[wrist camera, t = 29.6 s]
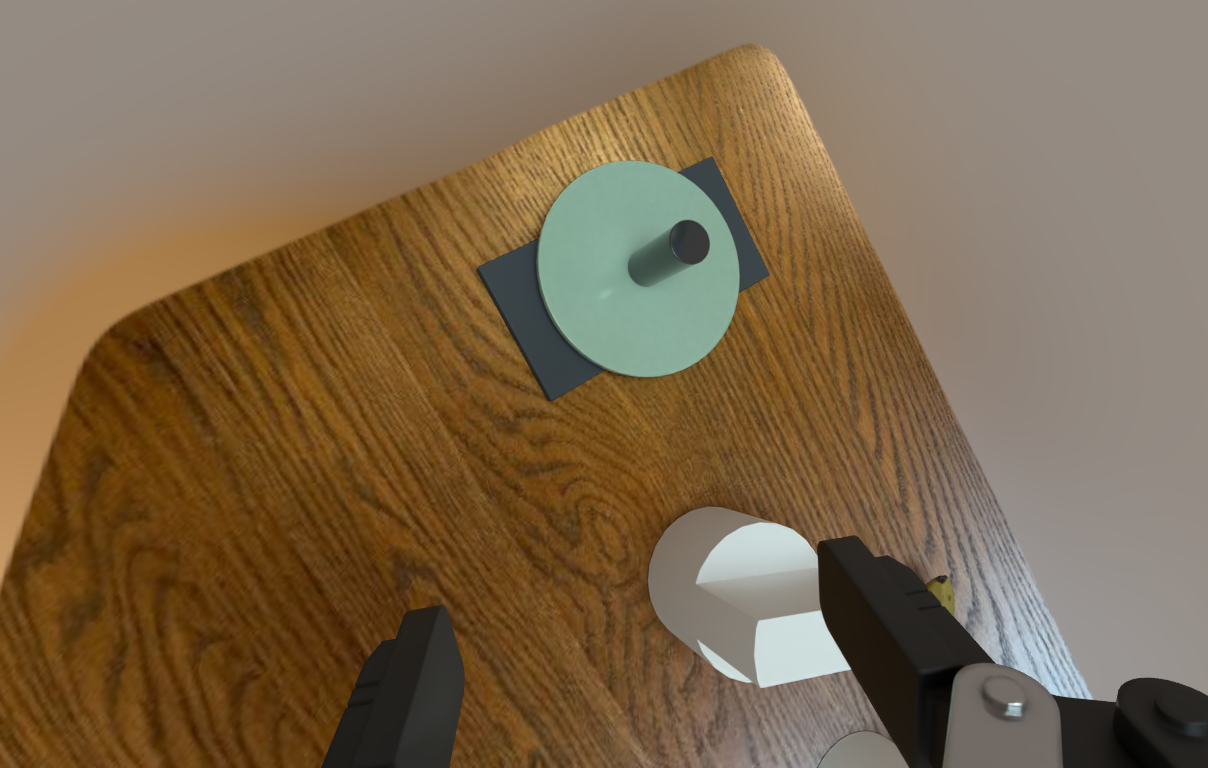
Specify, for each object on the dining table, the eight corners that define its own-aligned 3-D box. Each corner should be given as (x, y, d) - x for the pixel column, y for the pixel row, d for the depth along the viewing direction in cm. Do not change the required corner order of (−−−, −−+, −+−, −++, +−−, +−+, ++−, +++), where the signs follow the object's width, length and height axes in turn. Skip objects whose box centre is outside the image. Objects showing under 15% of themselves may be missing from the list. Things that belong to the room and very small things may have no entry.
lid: (519, 360, 35) (548, 347, 28) (549, 142, 36) (583, 80, 29) (719, 391, 39) (786, 387, 32) (739, 196, 40) (808, 153, 34)
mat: (548, 401, 36) (551, 401, 35) (476, 270, 35) (477, 267, 34) (763, 277, 42) (770, 274, 41) (706, 160, 41) (712, 155, 40)
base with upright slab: (649, 653, 38) (757, 757, 26) (646, 511, 38) (750, 554, 27) (769, 632, 41) (912, 718, 29) (764, 501, 41) (904, 536, 30)
